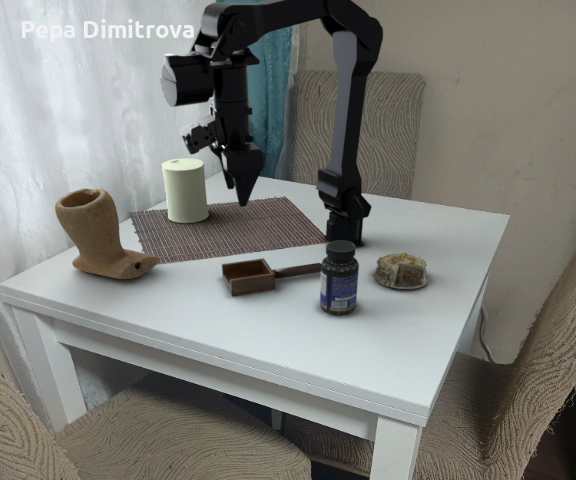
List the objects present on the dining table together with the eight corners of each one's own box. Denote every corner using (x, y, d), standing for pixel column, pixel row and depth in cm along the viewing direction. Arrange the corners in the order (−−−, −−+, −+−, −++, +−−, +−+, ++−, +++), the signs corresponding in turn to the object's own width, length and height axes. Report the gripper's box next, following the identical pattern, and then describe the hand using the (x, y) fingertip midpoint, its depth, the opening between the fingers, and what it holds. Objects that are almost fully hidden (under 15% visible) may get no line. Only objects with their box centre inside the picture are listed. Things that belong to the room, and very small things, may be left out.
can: (187, 206, 136) (182, 153, 128) (217, 214, 131) (212, 160, 124) (159, 217, 130) (151, 163, 122) (189, 226, 125) (183, 170, 118)
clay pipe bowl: (57, 275, 106) (36, 194, 97) (102, 252, 115) (87, 176, 106) (118, 294, 100) (102, 210, 91) (162, 268, 109) (151, 189, 100)
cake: (363, 275, 107) (364, 247, 105) (408, 267, 111) (410, 240, 108) (391, 294, 100) (393, 265, 97) (439, 285, 103) (442, 256, 100)
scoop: (315, 265, 110) (316, 250, 108) (329, 281, 104) (330, 265, 103) (222, 279, 105) (221, 264, 103) (232, 296, 100) (231, 280, 98)
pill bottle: (361, 304, 97) (367, 243, 91) (345, 320, 93) (349, 257, 87) (330, 295, 100) (333, 235, 93) (312, 310, 96) (314, 248, 89)
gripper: (170, 91, 95) (182, 185, 105) (189, 115, 81) (200, 222, 90) (236, 86, 98) (241, 179, 107) (265, 110, 83) (268, 214, 93)
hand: (236, 197), depth 99 cm, fingers open, 9 cm apart
